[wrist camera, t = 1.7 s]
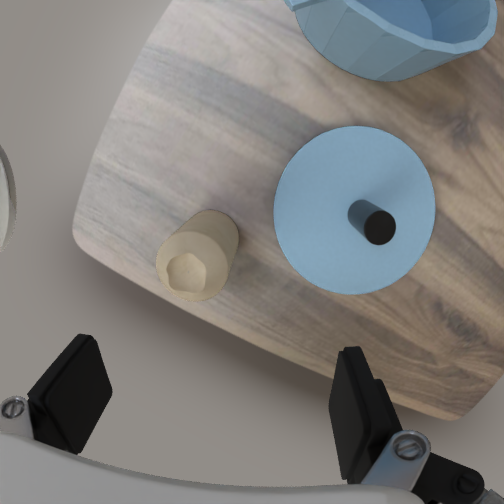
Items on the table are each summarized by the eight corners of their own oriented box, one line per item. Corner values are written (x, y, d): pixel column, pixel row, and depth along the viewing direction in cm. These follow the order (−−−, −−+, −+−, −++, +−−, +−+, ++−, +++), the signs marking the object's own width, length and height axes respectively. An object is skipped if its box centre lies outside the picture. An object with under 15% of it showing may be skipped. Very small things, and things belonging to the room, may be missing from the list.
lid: (242, 171, 28) (235, 176, 22) (395, 103, 25) (425, 93, 19) (314, 313, 33) (323, 350, 26) (445, 249, 29) (478, 271, 23)
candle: (251, 241, 31) (242, 283, 21) (208, 273, 32) (184, 323, 22) (215, 198, 29) (188, 220, 20) (174, 232, 31) (134, 267, 21)
